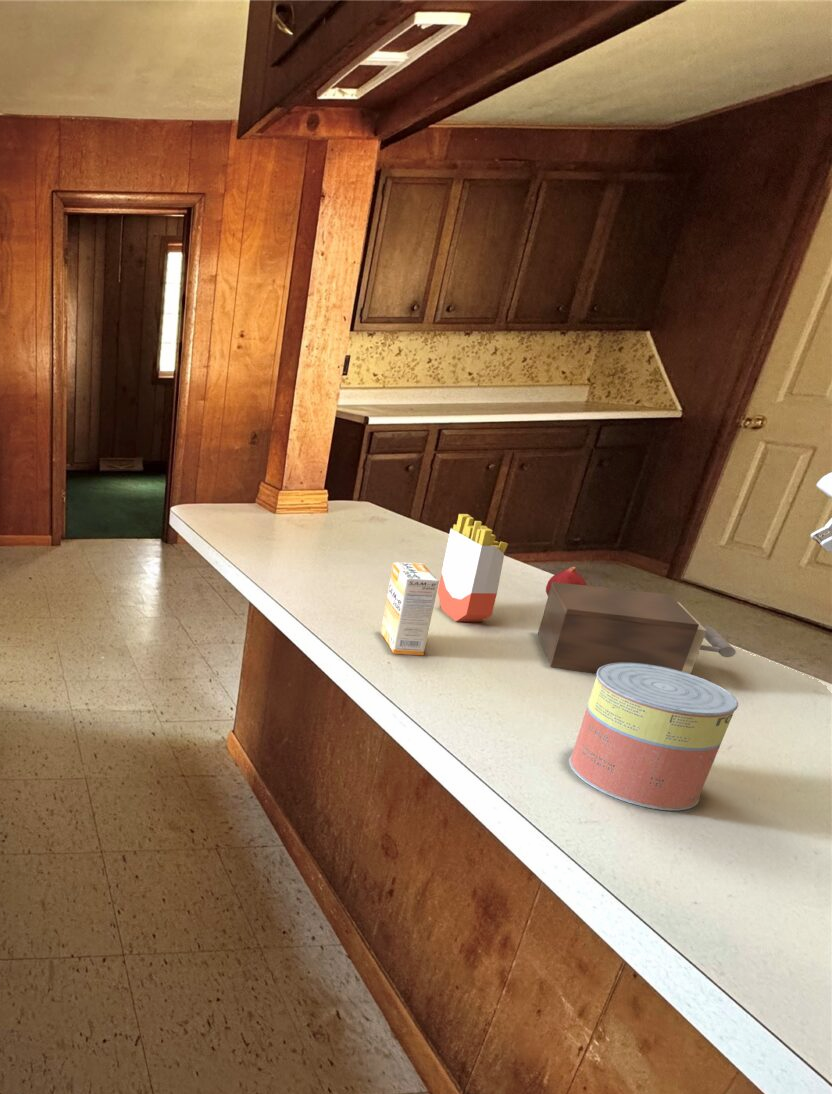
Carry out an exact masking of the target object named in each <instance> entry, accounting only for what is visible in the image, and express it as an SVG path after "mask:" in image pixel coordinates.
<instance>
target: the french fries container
mask: <svg viewBox="0 0 832 1094" xmlns="http://www.w3.org/2000/svg"><path fill="white" fill-rule="evenodd" d="M457 516H458V517H457V521H456V523H454V524H453V526H452V527H450V530H449V534H448V540H447V544H446V549H445V553H444V554H445V555H444V558H443V564H442V569H441V573H440V578H439V584H438V589H437V596H438V601H439V603H440V604H439V605H440V609H441V611H442V612H444V613H445V614H446V615H447V616H449V618H450V619H452V620H454V621H455V622H469V623H471V622H472V623H473V622H474V623H475V622H476V623H481V622H483V621H484V620H486V619H487V618H489V617H491V616H493V612H494V608H495V603H496V600H497V595H498V591H499V583H500V579H501V574H502V568H503V563H504V559H505V552H506V550H507V547H508V546H509V543H507V542H504V541H500V542H499V541H497V540H496V539H497V536H496V534H493V529H491V528H488V526H487V525H482V524H483V523H482V521H481V520H475V518H474V517H472V516H471V515H470V514H468V513H458V515H457Z"/></svg>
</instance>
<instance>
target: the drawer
mask: <svg viewBox="0 0 832 1094" xmlns="http://www.w3.org/2000/svg"><path fill="white" fill-rule="evenodd" d="M676 602H677V603H678V604H679V605H680V606H681V607H682V608H683V609H684V610H685V611H686V612H687V613H688V614H689V615H690V616H691V617H692V618H693V619H694V620H695V621H696V622H697V623H698V624H699V626H698V629H697V632H696V634H695V637H694V640H693V642H692V645H691V648H690V651H689V653H688V656H687V659H686V661H685V664H684V667H683V670H682V672H685V673H688V674H691V675H692V671H693V668H694V666H695V663H696V660H697V658H698V655H699V653H700V651H704V652H713V653H718V654H719V655H720V656H721V657H723V658H732V657H733V656H735V655H736V653H737V652H736V649H735V648H734V647H733V645H731V644H730V643H729V642H728V641H727V640H726V638H724V637H723V636H722V635H721V634H720V633H719V632H718V631H717V630H716V629H715V628H714V627H712V626H710V625H704V626H703V625H702V624H701V623H700V622H699V621H698V620H697V619H696V618H695V616H693V615H692V614H691V613H690V612H689V611H688V610H687V609H686V608H685V606H683V605H682V603H680V602H679V601H676ZM704 639H705V640H706V641H707V642H708V644H709V645H704V644H703V642H704Z"/></svg>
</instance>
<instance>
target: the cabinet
mask: <svg viewBox="0 0 832 1094" xmlns="http://www.w3.org/2000/svg"><path fill="white" fill-rule="evenodd" d="M677 602H678V601H677V600H676V599H674V597H673V596H672V595H671V594H668V593H659V592H650V591H639V590H632V589H630V590H629V589H622V588H612V587H603V586H594V585H587V586H585V585H576V584H567V583H557V582H552V584H551V588H550V591H549V595H548V596H547V599H546V602H545V606H544V610H543V613H542V616H541V617H542V618H541V621H540V624H539V628H538V632H537V638H538V640H539V643H540V645H541V647H542V650H543V652H544V654H545V657H546V659H547V662H548V664H549V667H551V668H555V669H563V670H568V671H575V672H582V673H590V674H595V675H597V670H598V669H599V668H600V667H602V666H604V665H607V664H611V663H641V664H649V665H655V666H661V667H665V668H670V669H674V670H678V671H682V670H683V667H684V664H685V661H686V659H687V656H688V653H689V651H690V648H691V645H692V642H693V640H694V637H695V634H696V632H697V629H698V626H699V624H698V623H697V622H696V621H695V620H694V619H693V618H692V617H691V616H690V615H689V614H688V613H687V612H686V611H685V610H684V609H683V608H682V607H681V606H680V605H679V604H678V603H677Z"/></svg>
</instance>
